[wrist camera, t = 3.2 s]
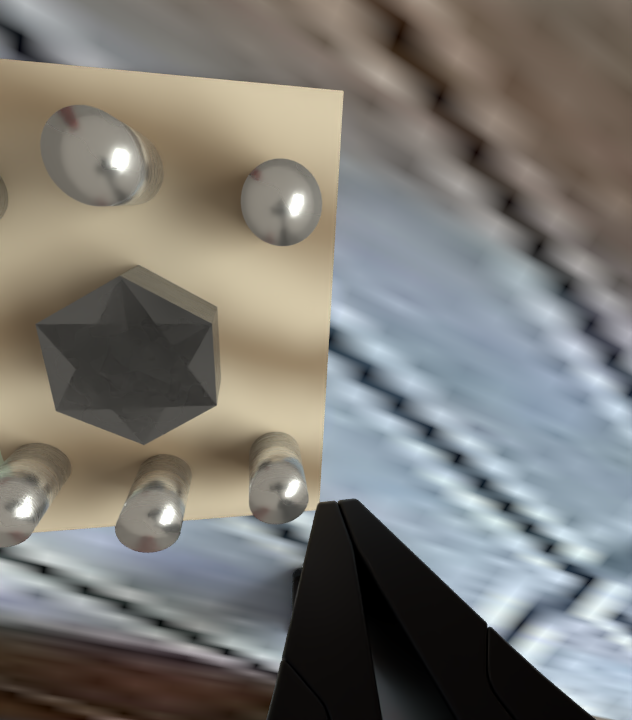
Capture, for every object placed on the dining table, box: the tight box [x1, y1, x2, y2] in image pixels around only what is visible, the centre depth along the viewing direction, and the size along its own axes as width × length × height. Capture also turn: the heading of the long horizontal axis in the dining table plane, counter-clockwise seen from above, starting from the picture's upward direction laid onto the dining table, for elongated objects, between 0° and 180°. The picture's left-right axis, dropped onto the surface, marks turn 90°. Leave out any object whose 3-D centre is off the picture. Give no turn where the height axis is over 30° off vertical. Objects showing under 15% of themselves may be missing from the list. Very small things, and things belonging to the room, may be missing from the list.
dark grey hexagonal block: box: [35, 265, 221, 445], centre depth 16 cm, size 7×6×2 cm
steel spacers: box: [0, 105, 322, 553], centre depth 15 cm, size 17×14×4 cm
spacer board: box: [0, 59, 343, 533], centre depth 18 cm, size 20×15×1 cm
